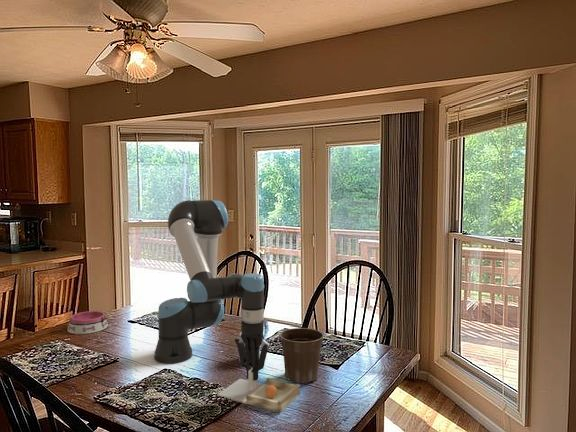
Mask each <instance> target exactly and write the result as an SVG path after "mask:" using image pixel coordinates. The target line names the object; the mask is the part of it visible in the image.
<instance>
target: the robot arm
mask: <svg viewBox="0 0 576 432" xmlns="http://www.w3.org/2000/svg"><path fill="white" fill-rule="evenodd" d="M228 223H229V215H228V211H227V208H226V206H225V204H224V203H223V201H220V200H215V199H200V200H183V201H180V202H179V203H177V204H176V205H174V207H173V208H172V209H171V211H170V212H169V215H168V219H167V227H168V231H169V234H170V235H171V236H172V237H173V238H174V239H175V242H176V245H177V247H178V250H179V253H180V256H181V258H182V261H183V265H184V266H185V270H186V271H187V276H188V278H189V281H188V282H187V286H186V293H187V298H188V299H187V298H185V297H179V298H178V297H174V298H169V299H166V300H165V301H163V302H161V303H160V304H159V306H158V312H157V319H158V320H157V321H158V323H157V325H158V326H157V327H158V340H157V343H156V347H155V350H154V353H153V355H154V360H155V361H156V362H157V363H158V362H159V363H163V364H178V363H183V362H186V361H188V360H189V359H191V358H192V357H193V349H192V346H191V344H190V340H189V335H188V333H189V332H188V331H189V330H194V329H195V330H196V329H200V328H206V327H209V328H210V327H213V326H216V325H219V324H220V323H221V322H222V321H223V318H224V314H225V306H224V305H225V304H224V301H223V300H226V299H228V300H229V299H234V298H235V299H236V298H238V299H240V300H241V302H240V303H241V305H240V307H241V309H240V310H241V313H240V315H241V317H240V318H241V320H242V321H241V322H240V325H241V327H240V329H241V331H240V332H242V334H241V337H239V336H238V337H237V338H235V339H234V342H235V345H236V346H237V350H238V358H239V357H240V362H241V363H240V362H239V363H240V366H241V368H244V369H245V370H246V380H248V390H254V389H255V388H256V382H257V380H258V379H259V372H260V371H261V370H263V369H264V367H265V364H266V358H267V355H268V349H269V348H270V346H271V345H272V344H271V341H269V342H267V340H265V336H264V327H265V325H264V324H265V323H264V318H265V316H264V315H265V313H264V311H265V310H264V305H265V304H264V303H265V296H264V295H265V284H264V281H265V280H264V276H263V275H262V274H260V273H244V274H240V273H231V274H230V275H228V276H221V277H218V274H217V273H218V255H219V254H218V252H219V237H220V236H222V234H223V229H225V228H227V227H228ZM244 344H245V346H244ZM261 344H262V346H261V348H260V345H261ZM259 349H260V357H259ZM245 350H246V351H245Z"/></svg>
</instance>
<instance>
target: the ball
mask: <svg viewBox="0 0 576 432" xmlns="http://www.w3.org/2000/svg"><path fill="white" fill-rule="evenodd" d="M265 394H266V396H267V397H269V398H273V397H275V396H276V394H277V389H276V387H275V386H273V385H269V386H267V387H266V389H265Z"/></svg>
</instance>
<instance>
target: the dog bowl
mask: <svg viewBox="0 0 576 432" xmlns="http://www.w3.org/2000/svg"><path fill="white" fill-rule="evenodd" d="M108 323H109V322H108V321H107V316H106V315H105V313H104V312H103V311H98V310H91V311H90V310H89V311H88V310H87V311H82V312H78V313H75V314H73V315H71V316H70V317H69V322H68V326H67V329H66V332H67V333H68V334H70V335H75V334H85V335H93V334H98V333H100V332H103V331H105V330H107V329H108V328H109V324H108Z"/></svg>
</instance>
